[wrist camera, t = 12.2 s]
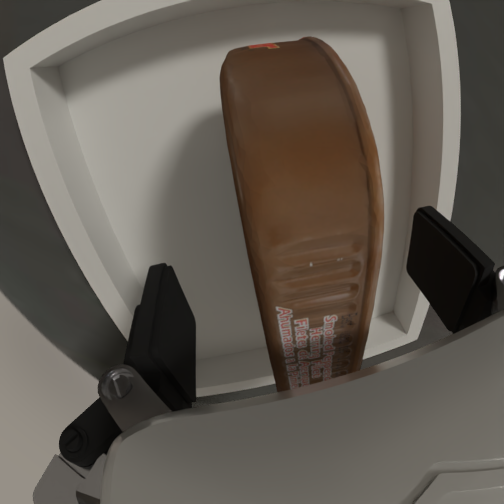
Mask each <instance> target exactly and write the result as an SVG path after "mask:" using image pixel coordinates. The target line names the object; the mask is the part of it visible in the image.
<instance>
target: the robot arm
mask: <svg viewBox="0 0 504 504" xmlns="http://www.w3.org/2000/svg"><path fill="white" fill-rule="evenodd" d="M494 265H495V263H494V262H493V261H492V260H491V259H490V258H489V257H488V256H487V255H486V254H485V253H484V252H483V251H482V250H481V249H480V248H479V247H478V246H477V245H476V244H474V243H473V242H472V241H471V240H470V239H469V238H468V237H467V236H466V235H465V234H464V233H463V232H461V231H460V230H459V229H458V228H457V227H456V226H455V225H454V224H452V223H451V222H450V221H449V220H448V219H447V218H445V217H444V216H443V215H442V214H441V213H439V212H438V211H437V210H436V209H435V208H433V207H432V206H425V207H420V208H418V209H417V210H416V212H415V213H414V216H413V224H412V232H411V239H410V246H409V252H408V258H407V264H406V270H407V273H408V275H409V276H410V277H411V279H412V280H413V281H414V283H415V284H416V285H417V287H418V288H419V289H420V291H421V292H422V293H423V295H424V296H425V298H426V299H427V300H428V302H429V303H430V305H431V306H432V307H433V309H434V310H435V312H436V313H437V315H438V316H439V317H440V319H441V320H442V322H443V323H444V325H445V326H446V328H447V329H448V330H449V331H452V333H453V334H452V335H450V336H448V337H446V338H444V339H441V340H439V341H437V342H434V343H432V344H430V345H427V346H425V347H422V348H420V349H418V350H415V351H413V352H410V353H407V354H405V355H402V356H400V357H397V358H394V359H392V360H389V361H386V362H383V363H380V364H377V365H375V366H372V367H369V368H366V369H362V370H359V371H356V372H353V373H350V374H346V375H343V376H340V377H336V378H333V379H329V380H326V381H322V382H318V383H315V384H311V385H307V386H303V387H299V388H295V389H291V390H286V391H282V392H277V393H272V394H268V395H263V396H258V397H253V398H248V399H242V400H237V401H231V402H225V403H219V404H213V405H206V406H201V407H195V408H192V402H195V401H196V321H195V317H194V315H193V312H192V310H191V308H190V306H189V304H188V301H187V299H186V297H185V295H184V292H183V290H182V288H181V285H180V283H179V281H178V279H177V276H176V274H175V271H174V269H173V267H172V266H171V265H170V266H167V264H166V263H160V264H156V265H152V266H150V267H149V270H148V274H147V278H146V282H145V286H144V290H143V294H142V299H141V303H140V304H139V305H137V306H136V308H135V311H134V316H133V320H132V325H131V329H130V334H129V339H128V344H127V349H126V354H125V359H124V364H119V365H116V366H113V367H111V368H110V369H108V370H107V371H106V372H105V373H104V374H103V375H102V377H101V378H100V380H99V384H98V394H99V396H100V398H99V399H97V400H96V401H95V402H94V403H93V404H92V405H91V406H90V407H88V408H87V409H86V410H85V411H84V412H83V413H82V414H81V415H80V416H79V417H77V419H75V420H74V421H73V422H72V423H71V424H70V425H69V426H67V427H66V428H65V430H64V431H63V432H62V434H61V436H60V440H59V449H60V452H61V453H60V454H59V456H58V455H54V457H53V459H52V461H51V462H50V464H49V466H48V467H47V469H46V471H45V472H44V474H43V475H42V478H41V479H40V481H39V482H38V484H37V486H36V487H35V490H34V492H33V501H34V504H504V266H501V267H499V268H497V270H496V272H494V271H493V267H494Z"/></svg>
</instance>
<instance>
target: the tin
mask: <svg viewBox="0 0 504 504" xmlns="http://www.w3.org/2000/svg"><path fill="white" fill-rule="evenodd" d="M219 79H220V94H221V103H222V112H223V119H224V126H225V133H226V140H227V147H228V152H229V157H230V162H231V168H232V174H233V180H234V186H235V191H236V196H237V202H238V207H239V212H240V217H241V222H242V227H243V233H244V238H245V244H246V249H247V255H248V260H249V264H250V269H251V274H252V279H253V283H254V288H255V293H256V298H257V302H258V307H259V311H260V316H261V321H262V326H263V331H264V335H265V340H266V345H267V350H268V354H269V359H270V363H271V367H272V371H273V376H274V379H275V383H276V387H277V392H282V391H286V390H291V389H295V388H299V387H303V386H307V385H311V384H315V383H318V382H322V381H326V380H329V379H333V378H336V377H340V376H343V375H346V374H350V373H353V372H356V371H359V370H360V368H361V364H362V360H363V355H364V351H365V347H366V342H367V338H368V334H369V327H370V323H371V318H372V314H373V309H374V303H375V296H376V290H377V284H378V278H379V272H380V267H381V260H382V249H383V236H384V195H383V185H382V178H381V171H380V163H379V156H378V150H377V146H376V142H375V138H374V134H373V131H372V129H371V124H370V121H369V118H368V115H367V112H366V108H365V105H364V103H363V101H362V98H361V95H360V93H359V90H358V87H357V85H356V83H355V81H354V79H353V78H352V76H351V74H350V72H349V70H348V68H347V67H346V65H345V64H344V63H343V61H342V60H341V59H340V57H339V56H338V54H337V53H336V52H335V51H334V49H333V48H332V47H331V46H330V45H328V44H327V43H325V42H324V41H323V40H321V39H318V38H316V37H311V36H309V37H303V38H301V39H299V40H296V41H286V42H275V43H265V44H257V45H249V46H244V47H240V48H235V49H233V50H230V51H229V52H228V53H227V55H226V58H225V60H224V62H223V64H222V66H221V71H220V77H219Z"/></svg>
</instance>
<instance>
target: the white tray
mask: <svg viewBox="0 0 504 504" xmlns="http://www.w3.org/2000/svg"><path fill="white" fill-rule="evenodd" d="M309 36H311V37H316V38H318V39H321V40H323V41H324V42H325V43H327V44H328V45H330V46H331V47H332V48H333V49H334V51H335V52H336V53H337V54H338V56H339V57H340V59H341V60H342V61H343V63H344V64H345V65H346V67H347V68H348V70H349V72H350V74H351V76H352V78H353V79H354V81H355V83H356V85H357V87H358V90H359V93H360V95H361V98H362V101H363V103H364V105H365V108H366V112H367V115H368V118H369V121H370V124H371V129H372V131H373V134H374V138H375V142H376V146H377V150H378V156H379V163H380V171H381V178H382V185H383V195H384V236H383V249H382V260H381V267H380V272H379V278H378V284H377V290H376V296H375V303H374V309H373V314H372V318H371V323H370V327H369V334H368V338H367V342H366V347H365V351H364V355H363V359H365V358H368V357H371V356H374V355H377V354H380V353H383V352H386V351H388V350H391V349H394V348H397V347H399V346H402V345H404V344H407V343H409V342H412V341H414V340H417V338H418V336H419V333H420V330H421V328H422V325H423V322H424V319H425V316H426V313H427V310H428V307H429V304H430V303H429V302H428V300H427V299H426V298H425V296H424V295H423V293H422V292H421V291H420V289H419V288H418V287H417V285H416V284H415V283H414V281H413V280H412V279H411V277H410V276H409V275H408V273H407V270H406V264H407V258H408V252H409V246H410V239H411V232H412V224H413V216H414V213H415V212H416V210H417V209H418V208H420V207H425V206H432V207H433V208H435V209H436V210H437V211H438V212H439V213H441V214H442V215H443V216H444V217H445V218H447V219H448V220H449V221H450V220H451V214H452V208H453V202H454V195H455V188H456V180H457V170H458V160H459V146H460V120H461V101H460V76H459V62H458V52H457V44H456V36H455V29H454V23H453V17H452V12H451V7H450V2H449V0H102V1H99V2H97V3H95V4H93V5H90V6H88V7H86V8H84V9H82V10H80V11H78V12H76V13H74V14H72V15H70V16H68V17H66V18H64V19H63V20H61V21H59V22H57V23H55V24H54V25H52V26H50V27H49V28H47V29H45V30H44V31H42V32H40V33H39V34H37V35H36V36H34V37H32V38H31V39H29V40H28V41H26V42H25V43H23V44H22V45H21V46H19V47H18V48H16V49H15V50H13V51H12V52H11V53H9V54H8V55H7V56H5V57H4V58H3V60H4V66H5V72H6V77H7V82H8V86H9V91H10V95H11V99H12V103H13V107H14V111H15V114H16V118H17V121H18V125H19V128H20V131H21V135H22V138H23V141H24V144H25V147H26V150H27V153H28V155H29V158H30V161H31V164H32V166H33V169H34V172H35V174H36V177H37V179H38V182H39V184H40V187H41V189H42V191H43V194H44V196H45V198H46V201H47V203H48V205H49V207H50V210H51V212H52V214H53V216H54V218H55V220H56V222H57V224H58V227H59V229H60V231H61V233H62V235H63V237H64V239H65V240H66V242H67V244H68V246H69V248H70V250H71V252H72V254H73V256H74V257H75V259H76V261H77V263H78V265H79V266H80V268H81V270H82V272H83V273H84V275H85V277H86V279H87V280H88V282H89V284H90V285H91V287H92V289H93V290H94V292H95V293H96V295H97V297H98V298H99V300H100V301H101V303H102V305H103V306H104V308H105V309H106V311H107V312H108V314H109V315H110V317H111V318H112V320H113V321H114V323H115V324H116V326H117V327H118V328H119V330H120V331H121V333H122V334H123V336H124V337H125V338H126V340H127V341H128V339H129V334H130V329H131V325H132V320H133V316H134V311H135V308H136V306H137V305H139V304H140V303H141V299H142V294H143V290H144V286H145V282H146V278H147V274H148V270H149V267H150V266H152V265H156V264H160V263H166V264H167V266H170V265H171V266H172V267H173V269H174V271H175V274H176V276H177V279H178V281H179V283H180V285H181V288H182V290H183V292H184V295H185V297H186V299H187V301H188V304H189V306H190V308H191V310H192V312H193V315H194V317H195V321H196V397H201V396H209V395H215V394H222V393H228V392H234V391H240V390H245V389H250V388H256V387H261V386H265V385H270V384H275V379H274V376H273V371H272V367H271V363H270V359H269V354H268V350H267V345H266V340H265V335H264V331H263V326H262V321H261V316H260V311H259V307H258V302H257V298H256V293H255V288H254V283H253V279H252V274H251V269H250V264H249V260H248V255H247V249H246V244H245V238H244V233H243V227H242V222H241V217H240V212H239V207H238V202H237V196H236V191H235V186H234V180H233V174H232V168H231V162H230V157H229V152H228V147H227V140H226V133H225V126H224V119H223V112H222V103H221V94H220V79H219V77H220V71H221V66H222V64H223V62H224V60H225V58H226V55H227V53H228V52H229V51H230V50H233V49H235V48H240V47H244V46H249V45H257V44H265V43H275V42H286V41H296V40H299V39H301V38H303V37H309Z"/></svg>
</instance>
